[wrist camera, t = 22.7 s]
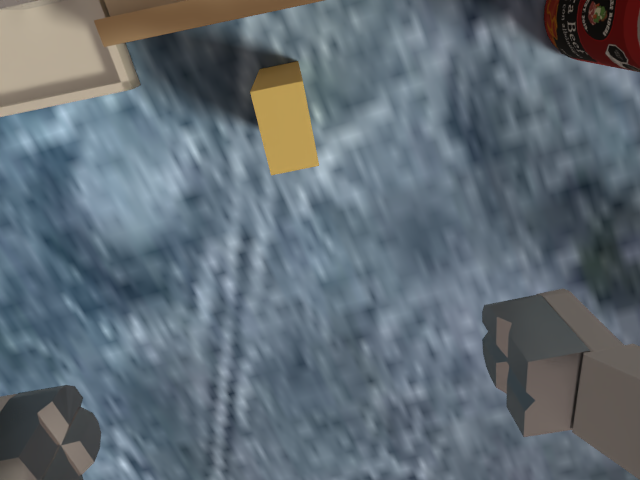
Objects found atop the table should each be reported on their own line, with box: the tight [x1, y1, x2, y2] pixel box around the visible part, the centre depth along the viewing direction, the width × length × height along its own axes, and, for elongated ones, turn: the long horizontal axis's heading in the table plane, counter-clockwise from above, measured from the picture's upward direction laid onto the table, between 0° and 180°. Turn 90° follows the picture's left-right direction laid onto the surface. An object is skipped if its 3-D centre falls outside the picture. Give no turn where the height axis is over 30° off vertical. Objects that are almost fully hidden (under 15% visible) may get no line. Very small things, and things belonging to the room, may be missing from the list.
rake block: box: [250, 61, 319, 175], centre depth 30 cm, size 5×3×10 cm, turn 11°
